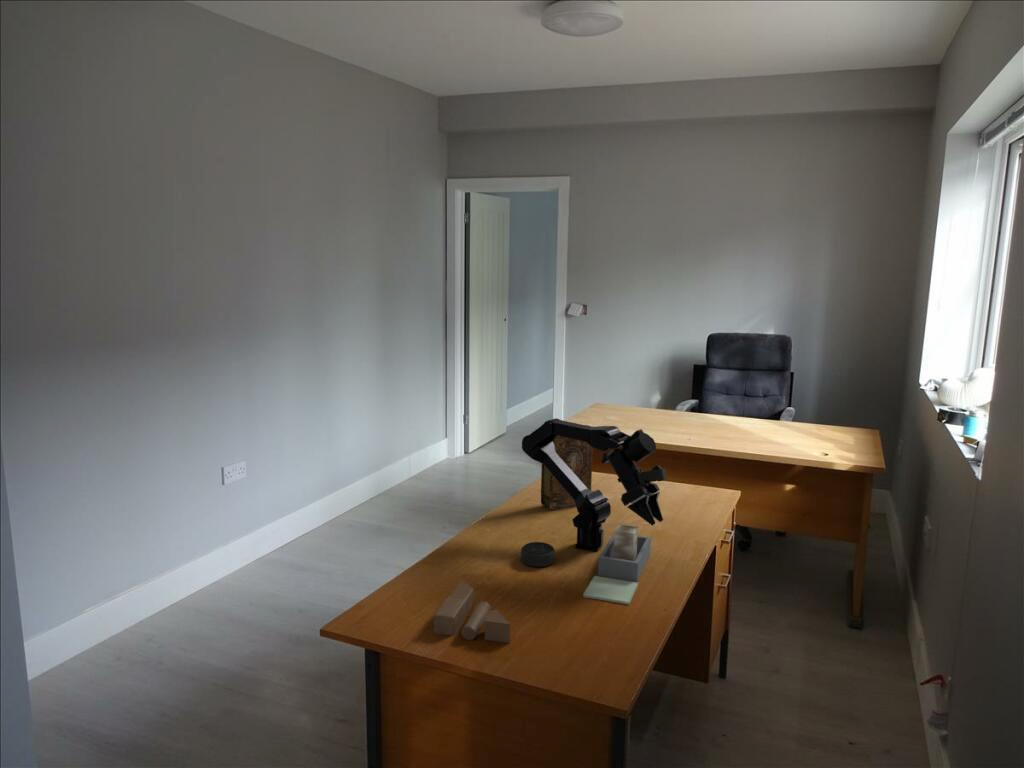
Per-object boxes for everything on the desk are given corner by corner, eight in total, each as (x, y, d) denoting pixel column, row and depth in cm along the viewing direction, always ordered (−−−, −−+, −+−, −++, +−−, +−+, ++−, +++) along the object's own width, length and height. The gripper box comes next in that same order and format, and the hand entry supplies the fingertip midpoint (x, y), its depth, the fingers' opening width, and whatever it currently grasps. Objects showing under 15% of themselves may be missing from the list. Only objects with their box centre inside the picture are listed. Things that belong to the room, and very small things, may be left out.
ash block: (613, 560, 198) (614, 530, 196) (617, 552, 202) (618, 524, 201) (632, 563, 196) (634, 533, 195) (636, 555, 201) (637, 526, 199)
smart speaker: (514, 561, 201) (514, 547, 201) (536, 552, 208) (536, 538, 207) (539, 571, 195) (539, 557, 195) (561, 561, 202) (561, 547, 201)
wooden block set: (431, 612, 163) (458, 577, 180) (431, 637, 164) (458, 599, 181) (508, 622, 158) (528, 585, 176) (508, 647, 160) (528, 608, 177)
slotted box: (597, 575, 193) (598, 557, 192) (613, 549, 210) (614, 532, 209) (637, 582, 190) (638, 563, 189) (650, 554, 206) (651, 537, 205)
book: (584, 498, 251) (586, 424, 246) (593, 503, 246) (595, 428, 241) (540, 505, 243) (542, 429, 239) (549, 511, 239) (550, 433, 234)
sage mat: (583, 596, 182) (583, 594, 182) (594, 578, 192) (594, 575, 192) (628, 604, 178) (629, 602, 178) (638, 585, 188) (638, 582, 188)
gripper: (644, 454, 189) (677, 510, 185) (660, 453, 207) (691, 504, 202) (607, 477, 193) (639, 532, 189) (625, 474, 210) (655, 525, 206)
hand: (657, 522), depth 196 cm, fingers open, 9 cm apart
